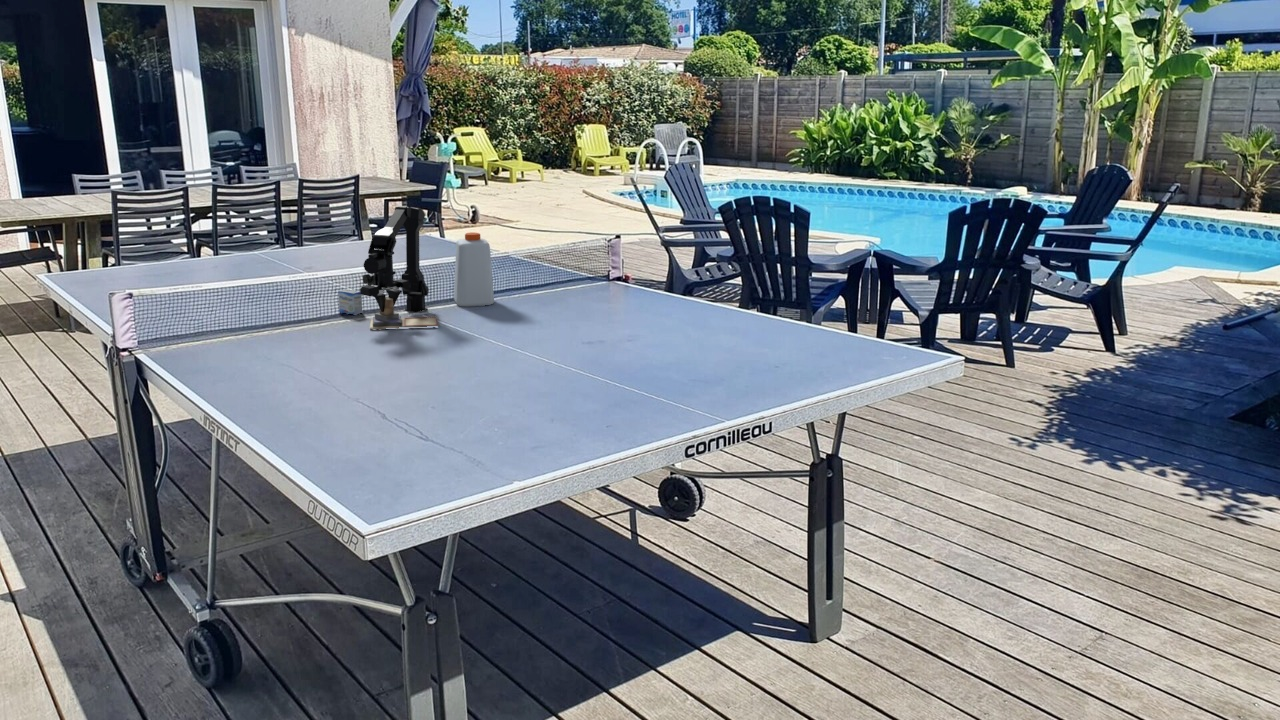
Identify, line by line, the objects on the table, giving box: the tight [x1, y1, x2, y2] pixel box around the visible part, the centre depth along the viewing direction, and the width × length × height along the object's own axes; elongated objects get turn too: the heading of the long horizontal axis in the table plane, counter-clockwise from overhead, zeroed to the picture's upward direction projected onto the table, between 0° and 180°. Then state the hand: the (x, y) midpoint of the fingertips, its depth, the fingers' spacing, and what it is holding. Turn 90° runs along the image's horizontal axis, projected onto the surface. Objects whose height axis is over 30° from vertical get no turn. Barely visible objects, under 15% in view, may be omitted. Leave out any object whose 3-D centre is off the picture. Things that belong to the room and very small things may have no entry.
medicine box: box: [337, 288, 363, 314], centre depth 381 cm, size 8×4×9 cm, turn 62°
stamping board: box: [369, 315, 439, 330], centre depth 367 cm, size 24×12×2 cm, turn 103°
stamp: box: [374, 296, 400, 322], centre depth 365 cm, size 6×6×8 cm
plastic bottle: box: [453, 231, 495, 308], centre depth 400 cm, size 15×15×28 cm
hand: (386, 310), depth 365 cm, fingers closed on stamp, 3 cm apart
